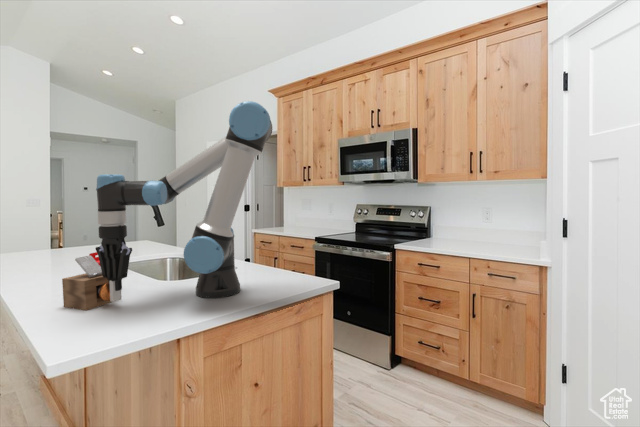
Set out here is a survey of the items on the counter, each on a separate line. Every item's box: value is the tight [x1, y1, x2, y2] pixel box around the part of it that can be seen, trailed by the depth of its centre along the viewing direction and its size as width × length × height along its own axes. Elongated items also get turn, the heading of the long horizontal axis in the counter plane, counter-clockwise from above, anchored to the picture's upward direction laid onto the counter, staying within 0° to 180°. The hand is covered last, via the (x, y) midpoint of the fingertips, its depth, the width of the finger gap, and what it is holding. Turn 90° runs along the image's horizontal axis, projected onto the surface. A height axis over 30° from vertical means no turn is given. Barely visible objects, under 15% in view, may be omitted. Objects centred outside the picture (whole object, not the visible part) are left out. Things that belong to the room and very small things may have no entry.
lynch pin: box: [96, 282, 110, 301], centre depth 115 cm, size 11×6×6 cm, turn 69°
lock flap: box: [74, 255, 102, 278], centre depth 116 cm, size 8×6×1 cm
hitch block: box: [61, 273, 112, 311], centre depth 116 cm, size 10×11×9 cm
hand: (115, 300), depth 112 cm, fingers closed
